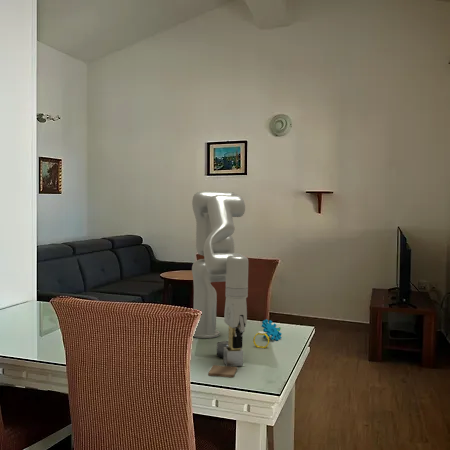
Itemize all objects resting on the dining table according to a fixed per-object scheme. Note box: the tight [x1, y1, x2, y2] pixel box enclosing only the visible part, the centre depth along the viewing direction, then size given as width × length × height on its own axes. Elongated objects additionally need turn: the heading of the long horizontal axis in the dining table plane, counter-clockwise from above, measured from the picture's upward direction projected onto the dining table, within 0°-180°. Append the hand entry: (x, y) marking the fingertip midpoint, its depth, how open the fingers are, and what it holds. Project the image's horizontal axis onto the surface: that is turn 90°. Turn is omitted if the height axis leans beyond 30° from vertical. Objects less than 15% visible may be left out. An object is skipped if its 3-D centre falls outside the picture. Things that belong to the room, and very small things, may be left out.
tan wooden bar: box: [228, 325, 240, 351], centre depth 164 cm, size 3×3×12 cm
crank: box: [216, 340, 244, 367], centre depth 169 cm, size 16×7×5 cm, turn 13°
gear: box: [261, 318, 283, 342], centre depth 199 cm, size 11×6×10 cm
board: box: [207, 364, 238, 378], centre depth 156 cm, size 8×8×1 cm
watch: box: [252, 331, 270, 349], centre depth 186 cm, size 6×3×6 cm, turn 77°
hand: (235, 346), depth 164 cm, fingers closed on tan wooden bar, 3 cm apart
